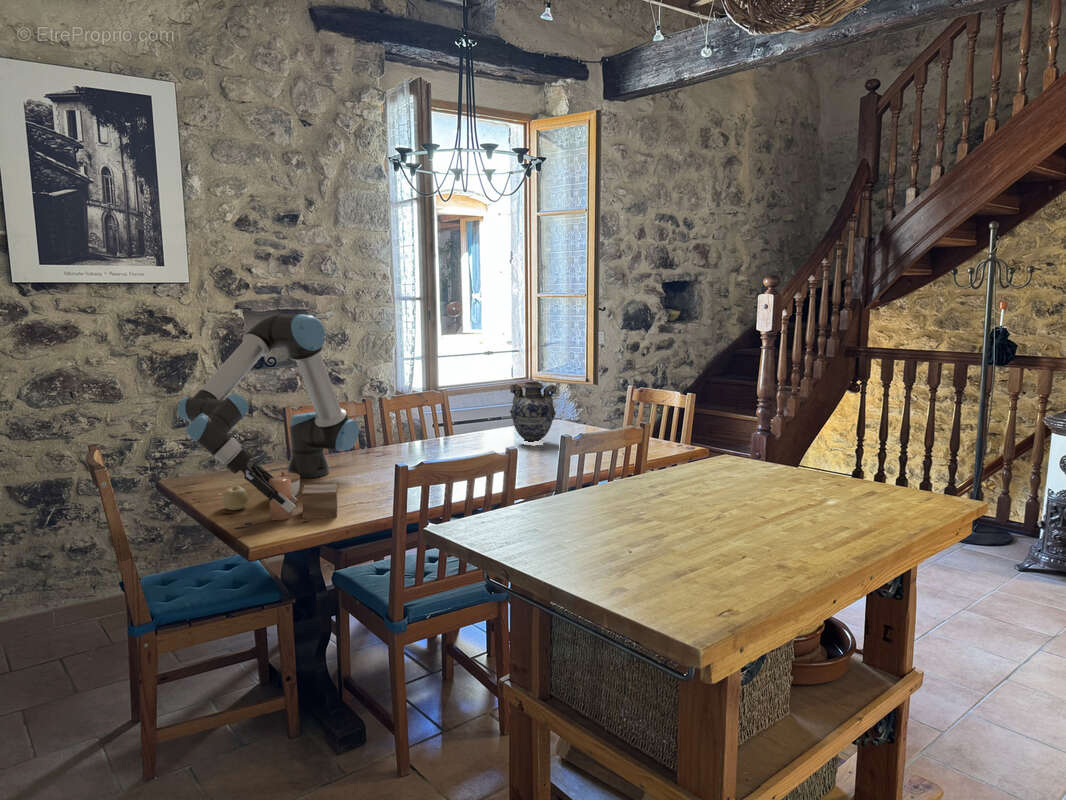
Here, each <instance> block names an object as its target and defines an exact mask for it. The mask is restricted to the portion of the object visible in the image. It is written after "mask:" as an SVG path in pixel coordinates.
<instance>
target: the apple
mask: <svg viewBox="0 0 1066 800" xmlns="http://www.w3.org/2000/svg"><path fill="white" fill-rule="evenodd" d="M221 502H222V505H223V507H224V508H225V509H226V510H229V511H239V510H242V509H244V508H246V506H247V504H248V503H249V493H248V491H247V490H246V489H245V488H244V487H242V486H240V485H232V486H230V487H227V488H226V489H225V490H224V491H223V493H222V497H221Z"/></svg>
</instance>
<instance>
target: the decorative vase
mask: <svg viewBox="0 0 1066 800" xmlns="http://www.w3.org/2000/svg"><path fill="white" fill-rule="evenodd" d="M523 388H524V389H523ZM557 388H558V387H557V385H555V384H549V385H547V386H545V385H543V383H542V382H534V381H533V382H532V381H531V382H530V381H529V382H524V384H523V385H522V387H521V385H519V384H518V383H513V384H511V385H510V387H509V389H510V393H511V394H514V396H513V397H512V405H511V409H510V411H509V413H510V414H511V415H510V416H511V419H512V421H513V427H514V428H515V431H516V432H517V434H518V436H520V437H521V438H522V439H523V440H524V441H528V442H534V441H539V440H542V439H543V438H544V437H546V436H547V434H548V433H549V432H550V429H551V427H552V425H553V421H554V419H555V415H556V410H555V406H554V399H553V395H556V394H557V390H558V389H557ZM542 389H543V395H542ZM523 390H525V392H524V391H523Z"/></svg>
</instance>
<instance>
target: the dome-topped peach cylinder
mask: <svg viewBox="0 0 1066 800" xmlns="http://www.w3.org/2000/svg"><path fill="white" fill-rule="evenodd" d="M269 484H270V485H271V486H272V487H273V488H274V489H275V490H276V491H277V492H280V493H281V494H282V495H284V496H285V497H286V498H287V499H288V500H289V501H291V502H292V494H291V478H289V477H275V478H271V479H269ZM269 516H270V517H269V518H271V519H274V520H283V521H286V520H285V519H288V520H290V518H291V517H292V518H293V510H292V511H291V512H290V513H289V512H287V511H286V510H285V509H284V508H283V507H281V506H280V505H279V504H278V503H277V502H275V501H274V500H273V499H272V500H271V501H269ZM292 518H291V519H292ZM271 519H270V520H271ZM274 520H273V521H274Z"/></svg>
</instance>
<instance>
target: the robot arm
mask: <svg viewBox="0 0 1066 800" xmlns="http://www.w3.org/2000/svg"><path fill="white" fill-rule="evenodd" d="M325 337H326V331H325V327H324V325H323V323H322V322H321V321H320V320H319V318H317V317H316V316H314V315H309V314H308V315H307V314H302V313H301V314H287V313H286V314H281V313H278V314H277V313H276V314H272V315H268V316H267V317H264V318H263V319H261V320H260V321H258V322H257V323H255V325H253V326H252V327H251V328H250V329H249V330H248V331H247V332H246V333H245V335H243V337H242V342H241V344H240V345H238V346H237V347H236V349H235V350H234V351H233V353H231V354H230V356H229V357H227V359H225V361H224V362H223V363H222V365H220V367H219V368H218V369H217V370H216V371H215V372H214V373H213V375H212V376H210V377H209V379H208V380H207V381H206V382H205V383H204V384H203V385H202V386H201V388H199V390H198V391H197V392H196V393H194V395H193V396H186V397H183V398H181V400H180V401H179V402H178V405H177V413H178V415H179V417H180V419H182V420H183V421H188V422H190V423H189V424H188V426H186V428H185V433H186V434H187V435H188V437H189V438H191V439H192V440H193V441H194V442H195V443H197V444H198V445H199V446H200V447H201V448H203V449H204V450H205V451H207V452H208V453H209V454H211V456H213V457H214V458H215V459H214V460H215V461H216V462H218V461H219V462H220V463H221V464H222V465H225V464H226V465H225V466H226V468H227V469H228V470H229V471H231V472H232V474H237V473H239V472H240V471H241V472H242V473H243V476H244V477H243V478H244V480H246V481H247V482H249V483H250V484H251V485H253V486H254V487H255V489H257V491H259V492H260V493H261V494H263V495H264V496H265V497H267V499H268V501H269V502H270V501H271V500H272V499H273V500H274V501H275V502H277V503H278V504H279V505H280V506H281V507H283V508H284V509H285V510H286V511H287V512H289V513H290V512H291V511H292V512H293V510H294V509H295V508H296V506H297V505H295V503H296V502H297V501H298V498H296V496H295V497H294V496H293V495H292V502H291V501H289V500H288V499H287V498H286V497H285V496H284V495H282V494H281V493H280V492H277V491H276V490H275V489H274V488H273V487H272V486H271V485H270V484H269V479H271V478H274V477H273V476H272V474H271V473H269V472H268V471H267V470H266V469H265V468H263V467H262V466H261V465H259V464H258V462H256V461H255V462H252V461H250V460H251V459H252V458H253V454H252V453H251V452H249V450H247V448H244V447H242V444H241V443H239V442H238V441H237V440H236V439H235V438H233V437H232V436H231V435H230V434H229V432H230V431H231V430H232V429H233V428H234V427H235V426H236V425H237V424H238V423H240V421H241V420H243V418H244V417H245V416H246V415H247V413H248V412H249V409H250V406H249V405H250V404H249V403H248V401H247V399H245V398H244V397H243V396H242V395H241V394H239V393H231V392H232V391H233V390H234V389H235V388H236V386H238V384H239V383H240V382H241V381H242V379H244V377H245V376H247V374H248V373H249V372H250V370H251V369H252V368H253V367H254V366H255V364H256V363H257V362H258V361H259V360H260V359H261V358H262V357H266V356H268V354H269V353H270V352H271V351H273V350H276V349H285V350H286V351H287V354H288V356H289V359H291V360H292V361H295V362H296V365H297V367H298V370H299V373H300V375H301V377H302V380H303V383H304V386H305V388H306V391H307V393H308V396H309V398H310V401H311V403H312V406H313V409H314V411H310V412H303V413H299V414H295V415H292V416H291V417H290V421H289V422H290V424H289V430H290V448H291V453H290V454H291V455H290V459H289V462H288V465H287V467H286V468H287V469H286V470H287V471H286V473H296V474H299V475H300V479H311V478H312V477H314V478H318V476H320V477H324V476H327V475H328V474H329V472H330V466H329V463H328V461H327V458H326V455H325V453H324V452H325V451H324V449H325V450H331V451H337V452H340V451H345V452H346V451H349V450H351V449H352V448H354V446H355V445H356V443H357V441H358V438H359V434H360V427H359V424H358V422H357V421H356V420H355V419H353V418H349V416H348V413H347V411H346V410H345V409H344V408H341V406H340V403H339V401H338V397H337V395H336V393H335V390H334V388H333V384H332V382H331V379H330V376H329V374H328V370H327V368H326V366H325V365H326V364H325V362H324V361H323V357H322V352H323V351H322V350H323V349H324V344H325V342H326V338H325ZM323 475H324V476H323ZM312 479H313V478H312Z"/></svg>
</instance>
